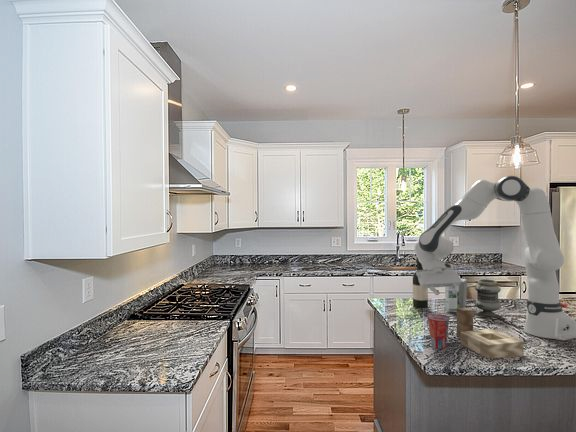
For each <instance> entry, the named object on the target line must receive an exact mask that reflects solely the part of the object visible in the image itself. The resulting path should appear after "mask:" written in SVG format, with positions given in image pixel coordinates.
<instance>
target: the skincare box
mask: <svg viewBox="0 0 576 432" xmlns="http://www.w3.org/2000/svg"><path fill="white" fill-rule="evenodd" d="M460 278H461V277H460ZM467 287H468V279H467V278H461V283H460V285H459V308H464V307H466V306H467V295H468V294H467V291H468V289H467Z"/></svg>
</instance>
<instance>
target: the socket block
mask: <svg viewBox="0 0 576 432" xmlns="http://www.w3.org/2000/svg"><path fill="white" fill-rule="evenodd" d="M460 345H461V346H464V347H465V348H467V349H469V350H471V351H473V352H475V353H477V354H478V355H480V356H482V357H485V359H488V360H490V359H499V358H509V357H517V356H519V357H520V356H524V355H525V354H524V353H525V351H524V348H525V346H524V341H523V340H520V339H518V338H515V337H513V336H511V335H508V334H505V333H503V332H502V331H501V332H500V331H499V330H496V329H493V328H491V329H489V328H488V329H475V330H473V331H464V332H461V338H460Z"/></svg>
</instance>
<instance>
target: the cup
mask: <svg viewBox="0 0 576 432" xmlns="http://www.w3.org/2000/svg"><path fill="white" fill-rule="evenodd" d="M426 317H427V321H428V323H427V324H428V329H429V330H428V331H429V337H430V342H431V343H430V344H431V348H433V349H437V350H444V349H445V350H446V348H447V347H446V346H447V341H448V335H449V334H448V332H449V322H450V319H451V317H450V316H449V315H446V314H440V313H427V314H426Z"/></svg>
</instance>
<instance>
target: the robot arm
mask: <svg viewBox="0 0 576 432" xmlns="http://www.w3.org/2000/svg"><path fill="white" fill-rule="evenodd" d="M494 200H500V201H503V202H516V203H517V205H518V208H519V213H520V214H519V215H520V220H521V225H522V231H523V234H524V235H523V236H524V237H525V241H526V243H527V247H526V248H525V250H524V253H523V257H524V264H525V274H526V278H527V299H526V308H527V310H526V315H525V324H523V327H524V328H523V331H524V332H525V333H527V334H529V335H531V336H534V337H539V338H545V339H550V340H551V339H553V340H558V341H568V340H572V339H576V320H575V319H574V318H572V317H571V316H569V315H568V314H567V313H566V312H565V311H564V310H563V308H564V309H568V304H567V303H566V302H565V303H564V302H560V286H559V285H560V284H559V281H558V279H557V278H558V277H557V272H556V271H558V270H560V269H561V268H562V267H563V266H564V262H565V258H564V255H563V253H562V250H561V247H560V243H559V241H558V238H557V235H556V232H555V228H554V221H553V217H552V212H551V211H552V210H551V207H550V202H549V199H548V196H547V195H546V192H545V191H544V190H543V189H541V188H538V187H537V188H536V187H531V188H530V187H529V185H527V183H525V181H523V179H522V178H520V177H519V176H517V175H516V176H515V175H507V176H504V177H502V178H501V179H499V180H498V181H497V182H491V181H489V180H485V179H480V180H477V181H475V182H474V184H473V185H472V186H471V187H470V188H468V189H467V191H466V192H465V193H464V195H463V196H462V197H461V198H460V199H459V200H458V201H457V202H456V203H455V204H453V205H451V206H450V207H448V208H447V209H446V210H445V211H444V212H443V213H442V214H441V216H440V217H438V218H437V219H436V220H435V222H434V223H433V224H432V225H430V227H428V228H427V229H426V230H425V231H423V232H422V233H421V234H420V236H419V238H418V242H417V243H416V244H415V245H414V252H415V255H416V259H417V258H418V260H419V262H420V263H421V264H422V268H423V270H417V269H416V271H415V272H416V275H417V277H418V280H419V283H420V286H421V287H422V288H429V290H430V291H431V292H432V293H434V295H435V296H439V295H440V293H441V292H440V290H439V289H436V288H445V287H452V288H453V290H452V292H453V294H457V293H458V291H457V286H459V285H460V283H461V277H460V275H459V274H458V272H457V271H456V269H454V266H453V265H452V264H450V263H446V262H443V261H441V260H443V259H445V258H446V257H449V256H450V255H451V254H452V253H453V250H454V243H453V241H452V240H451V239H449V238H448V237H445V236H443V234H444V233H445V232H446V231H447V230H448V229H449V228H450V227H451V226H452V225H453V224H455V223H456V222H459V221H463V220H465V221H471V220H475V219H477V218H479V217H480V215H482V214H483V213H484V211H485V210H486V208H487V207H488V206H489V205H490V203H492V202H493V201H494Z"/></svg>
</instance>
